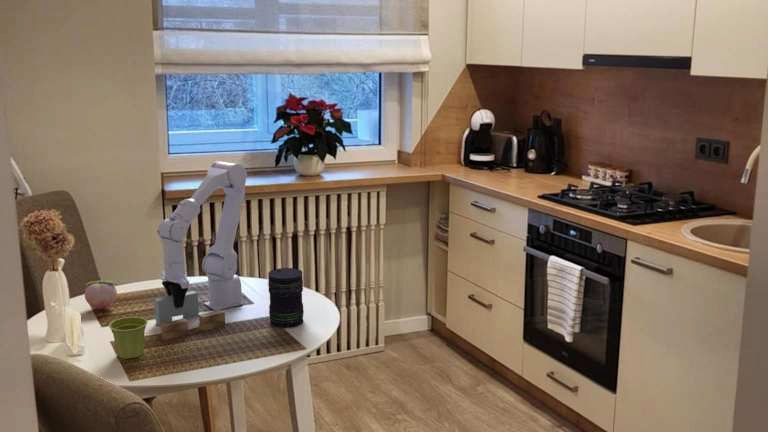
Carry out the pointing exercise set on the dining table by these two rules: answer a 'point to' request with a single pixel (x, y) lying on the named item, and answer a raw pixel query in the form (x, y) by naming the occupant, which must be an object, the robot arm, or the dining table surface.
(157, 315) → the crosspiece
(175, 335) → the base rail
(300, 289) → the camera lens
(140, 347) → the plant pot
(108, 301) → the decorative fruit
